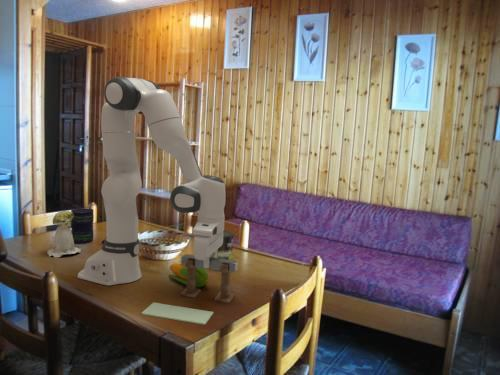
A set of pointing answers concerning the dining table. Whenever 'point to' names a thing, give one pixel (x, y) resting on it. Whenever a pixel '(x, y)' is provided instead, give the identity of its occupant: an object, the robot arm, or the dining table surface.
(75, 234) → the storage jar
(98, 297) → the dining table surface
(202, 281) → the corn
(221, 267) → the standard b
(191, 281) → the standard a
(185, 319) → the mat
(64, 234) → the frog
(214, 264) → the rail
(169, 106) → the robot arm
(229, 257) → the coffee can
